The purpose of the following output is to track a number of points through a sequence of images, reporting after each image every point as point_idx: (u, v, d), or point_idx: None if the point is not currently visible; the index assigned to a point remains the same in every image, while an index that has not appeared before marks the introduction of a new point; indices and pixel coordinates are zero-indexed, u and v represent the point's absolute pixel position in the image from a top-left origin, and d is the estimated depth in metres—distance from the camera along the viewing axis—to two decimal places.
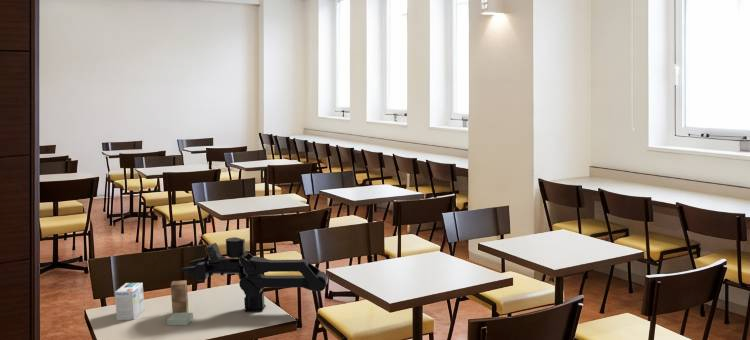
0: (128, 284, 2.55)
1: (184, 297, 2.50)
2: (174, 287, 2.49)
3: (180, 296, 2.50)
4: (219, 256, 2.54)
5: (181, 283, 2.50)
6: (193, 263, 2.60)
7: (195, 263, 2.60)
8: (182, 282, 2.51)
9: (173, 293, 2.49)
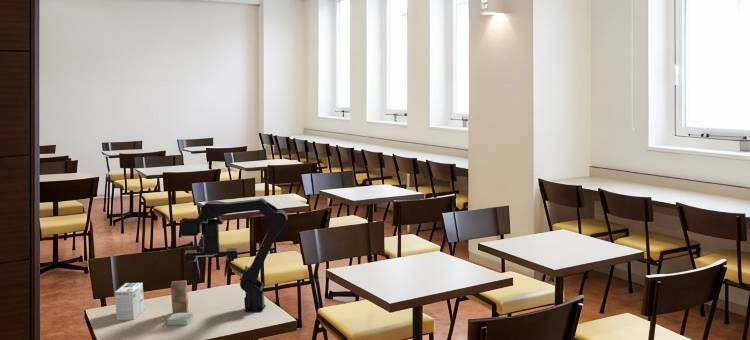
0: (128, 284, 2.55)
1: (184, 297, 2.50)
2: (174, 287, 2.49)
3: (180, 296, 2.50)
4: None
5: (181, 283, 2.50)
6: (224, 272, 2.54)
7: (224, 271, 2.54)
8: (182, 282, 2.51)
9: (173, 293, 2.49)
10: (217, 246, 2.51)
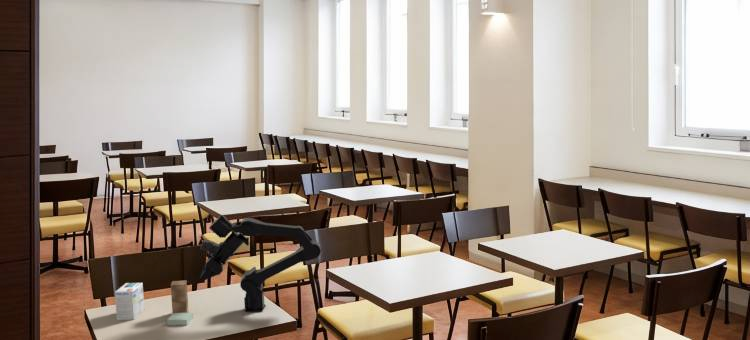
0: (128, 284, 2.55)
1: (184, 297, 2.50)
2: (174, 287, 2.49)
3: (180, 296, 2.50)
4: (216, 245, 2.51)
5: (181, 283, 2.50)
6: None
7: None
8: (182, 282, 2.51)
9: (173, 293, 2.49)
10: None
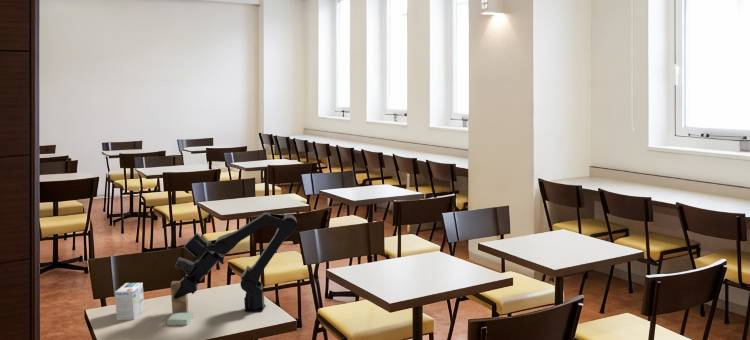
0: (128, 284, 2.55)
1: (184, 297, 2.50)
2: (174, 287, 2.49)
3: None
4: (191, 263, 2.51)
5: None
6: None
7: None
8: None
9: (173, 293, 2.49)
10: None
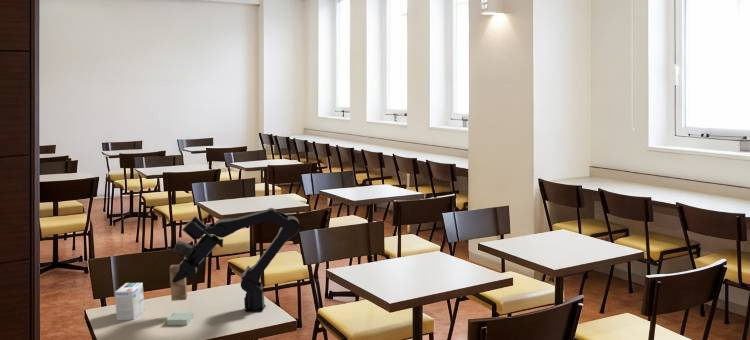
0: (128, 284, 2.55)
1: (183, 280, 2.48)
2: (173, 271, 2.47)
3: None
4: (189, 246, 2.49)
5: None
6: None
7: None
8: None
9: (172, 277, 2.48)
10: None
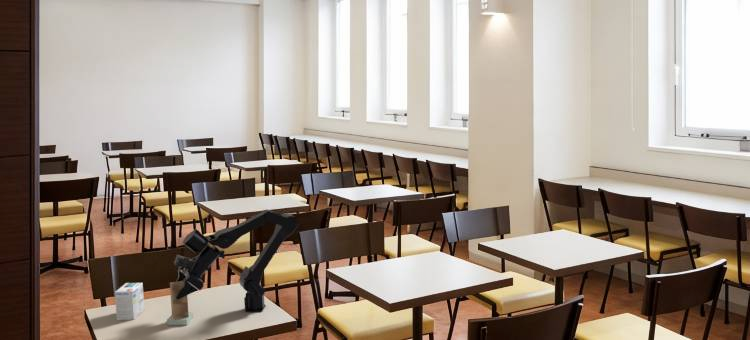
0: (128, 284, 2.55)
1: (186, 298, 2.43)
2: (175, 288, 2.41)
3: None
4: (191, 260, 2.44)
5: (181, 284, 2.43)
6: None
7: None
8: (182, 283, 2.44)
9: (175, 295, 2.41)
10: None
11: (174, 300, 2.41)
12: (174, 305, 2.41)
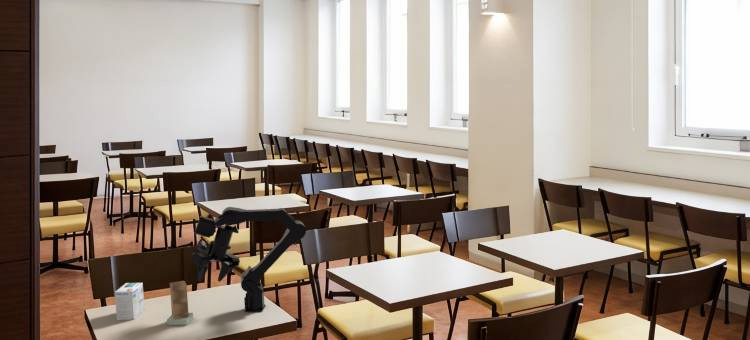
0: (128, 284, 2.55)
1: (186, 298, 2.43)
2: (175, 288, 2.41)
3: (181, 296, 2.42)
4: None
5: (181, 284, 2.43)
6: (220, 277, 2.55)
7: (220, 275, 2.55)
8: (182, 283, 2.44)
9: (175, 295, 2.41)
10: None
11: (174, 300, 2.41)
12: (174, 305, 2.41)
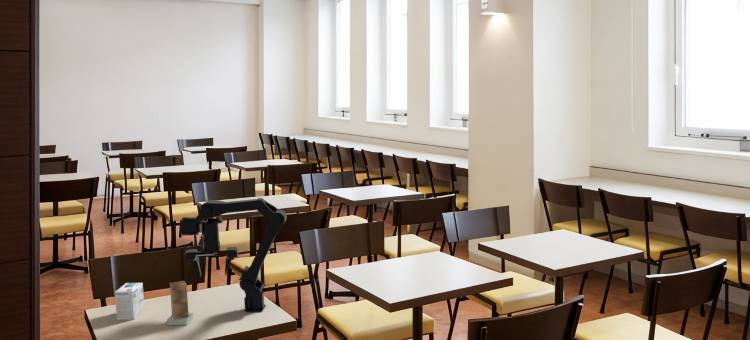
0: (128, 284, 2.55)
1: (186, 298, 2.43)
2: (175, 288, 2.41)
3: (181, 296, 2.42)
4: None
5: (181, 284, 2.43)
6: (225, 271, 2.55)
7: (225, 269, 2.55)
8: (182, 283, 2.44)
9: (175, 295, 2.41)
10: (217, 245, 2.52)
11: (174, 300, 2.41)
12: (174, 305, 2.41)
